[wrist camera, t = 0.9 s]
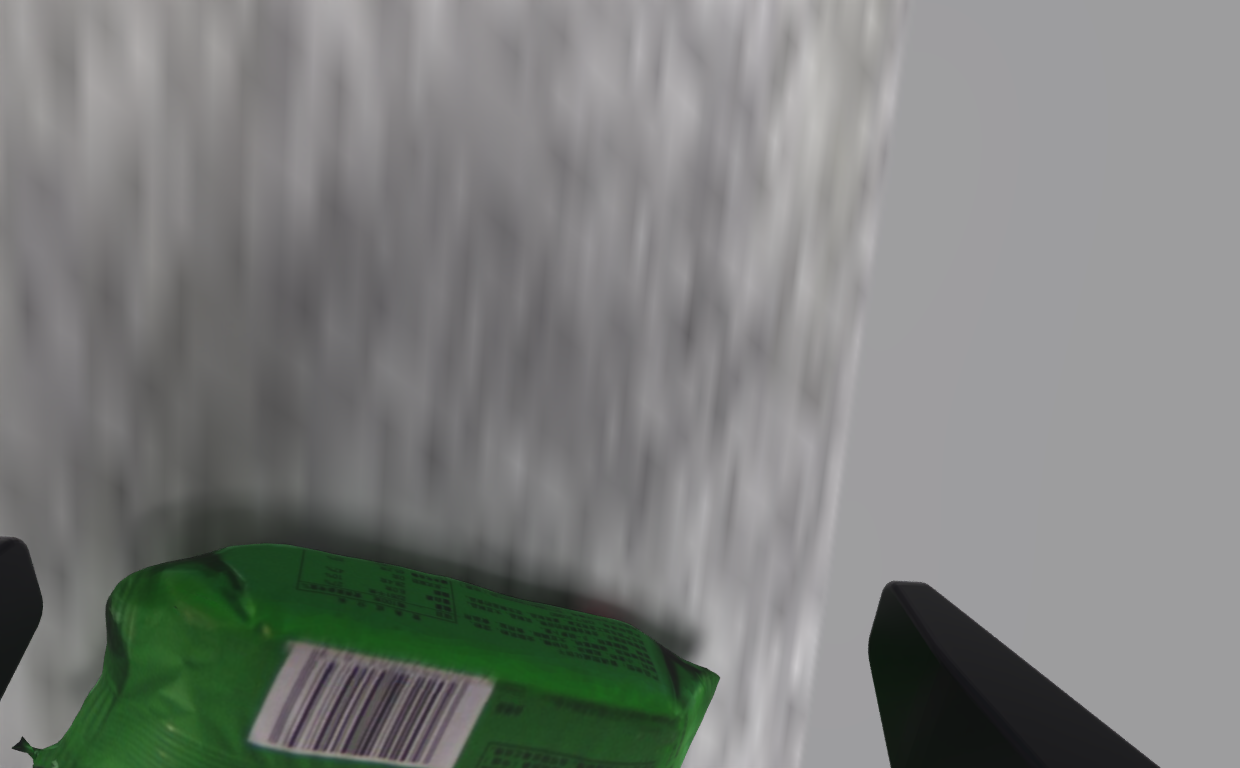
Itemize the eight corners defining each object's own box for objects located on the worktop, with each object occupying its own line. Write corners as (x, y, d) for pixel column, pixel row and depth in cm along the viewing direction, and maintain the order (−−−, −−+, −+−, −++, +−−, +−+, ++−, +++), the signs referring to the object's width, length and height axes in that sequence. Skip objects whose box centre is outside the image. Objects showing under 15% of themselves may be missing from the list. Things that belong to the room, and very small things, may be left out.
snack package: (140, 465, 20) (57, 585, 16) (709, 614, 25) (777, 738, 21) (66, 708, 22) (-31, 884, 17) (615, 802, 27) (658, 959, 22)
